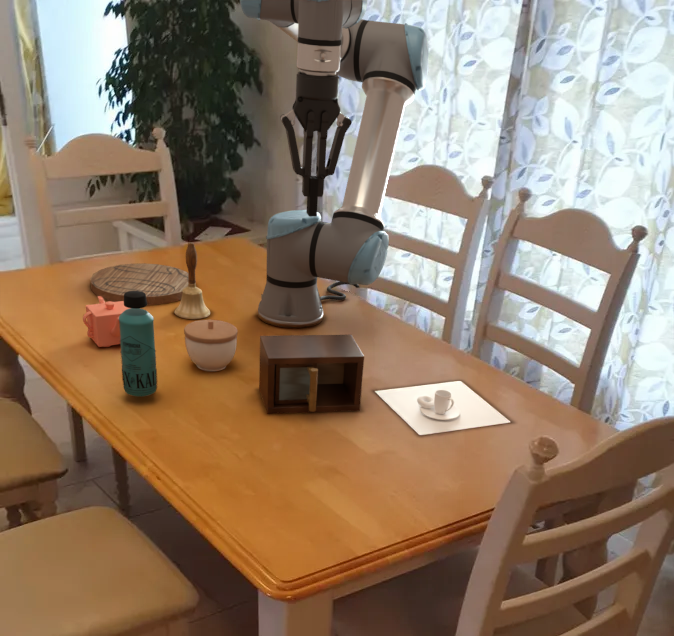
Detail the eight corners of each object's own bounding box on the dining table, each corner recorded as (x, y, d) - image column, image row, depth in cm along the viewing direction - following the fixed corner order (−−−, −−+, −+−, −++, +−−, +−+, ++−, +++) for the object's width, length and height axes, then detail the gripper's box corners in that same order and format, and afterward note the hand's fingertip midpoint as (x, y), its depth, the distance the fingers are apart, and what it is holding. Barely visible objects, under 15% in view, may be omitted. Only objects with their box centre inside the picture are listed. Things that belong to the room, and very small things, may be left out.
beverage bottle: (125, 389, 176) (117, 286, 164) (160, 390, 176) (154, 287, 164) (121, 404, 170) (113, 298, 158) (157, 405, 171) (151, 299, 159)
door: (314, 401, 173) (316, 359, 168) (319, 413, 169) (322, 370, 164) (274, 402, 172) (275, 360, 167) (278, 415, 168) (280, 371, 163)
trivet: (111, 266, 233) (110, 259, 232) (205, 277, 232) (205, 269, 230) (75, 298, 213) (74, 290, 212) (178, 309, 212) (178, 301, 210)
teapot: (128, 325, 202) (125, 288, 197) (151, 350, 192) (149, 311, 187) (75, 332, 197) (71, 294, 192) (96, 357, 187) (92, 318, 182)
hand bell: (216, 310, 213) (215, 240, 203) (200, 322, 206) (198, 250, 197) (184, 304, 215) (182, 234, 205) (168, 315, 208) (164, 244, 199)
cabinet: (347, 387, 183) (351, 334, 177) (359, 410, 175) (364, 356, 168) (259, 389, 180) (259, 335, 173) (267, 413, 171) (268, 358, 165)
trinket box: (228, 379, 183) (228, 333, 177) (178, 371, 184) (176, 326, 178) (243, 359, 191) (243, 315, 185) (195, 352, 192) (193, 308, 187)
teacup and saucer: (410, 404, 178) (413, 385, 176) (445, 400, 181) (448, 381, 179) (431, 424, 172) (434, 404, 170) (467, 419, 175) (470, 399, 172)
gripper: (284, 73, 153) (280, 219, 168) (359, 77, 156) (349, 220, 170) (277, 67, 159) (274, 208, 173) (349, 70, 162) (340, 209, 176)
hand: (311, 214), depth 172 cm, fingers closed
